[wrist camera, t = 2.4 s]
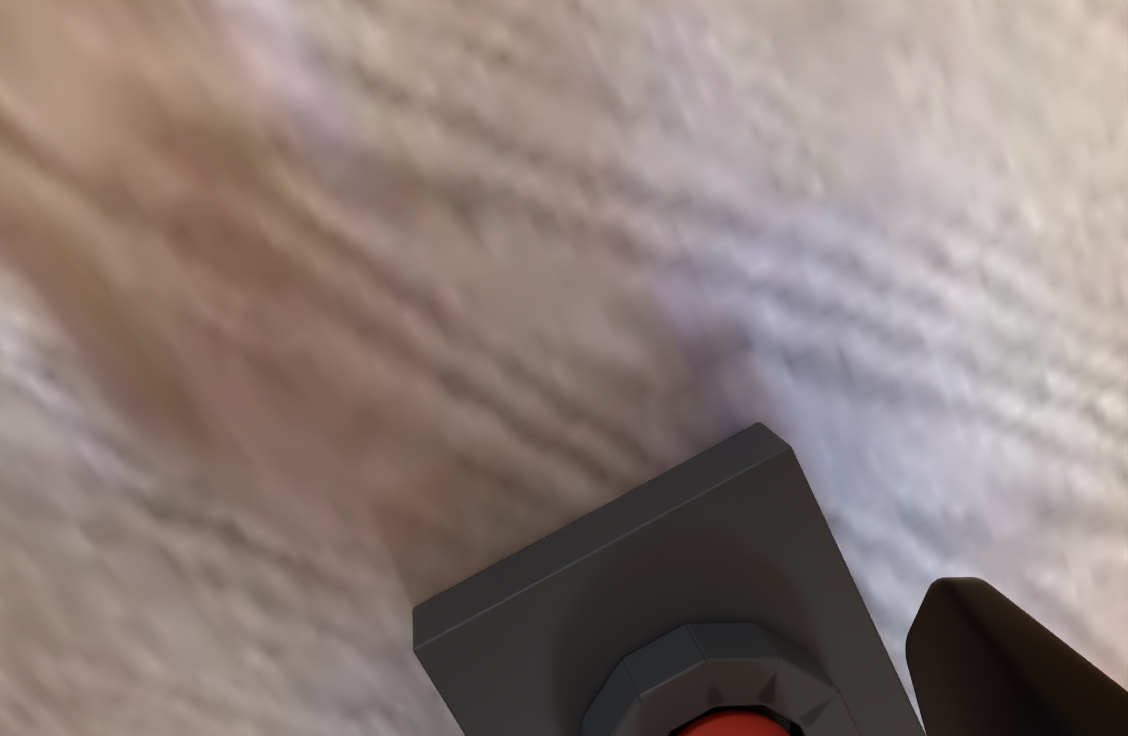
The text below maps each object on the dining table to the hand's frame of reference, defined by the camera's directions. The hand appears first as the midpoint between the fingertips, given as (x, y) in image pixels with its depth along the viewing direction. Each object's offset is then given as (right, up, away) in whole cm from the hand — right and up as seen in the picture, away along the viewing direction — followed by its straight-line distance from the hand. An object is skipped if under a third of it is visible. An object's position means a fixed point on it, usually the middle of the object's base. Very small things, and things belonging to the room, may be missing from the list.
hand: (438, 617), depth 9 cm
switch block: (+4, -7, +19) cm, 20 cm away
